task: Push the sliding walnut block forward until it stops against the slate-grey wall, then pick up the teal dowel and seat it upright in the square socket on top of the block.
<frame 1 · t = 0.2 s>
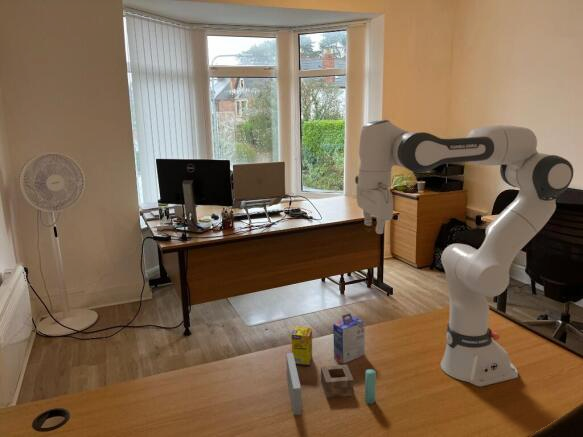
hand: (373, 229, 123), 47 cm above the table, tool pointing down, fingers open, 8 cm apart
block: (336, 380, 127), point 2 cm above the table, slide at 0.0 cm
wall: (293, 394, 126), on the table
ink cartridge box: (349, 356, 145), on the table
supplement box: (302, 361, 143), on the table
dowel: (370, 400, 122), on the table
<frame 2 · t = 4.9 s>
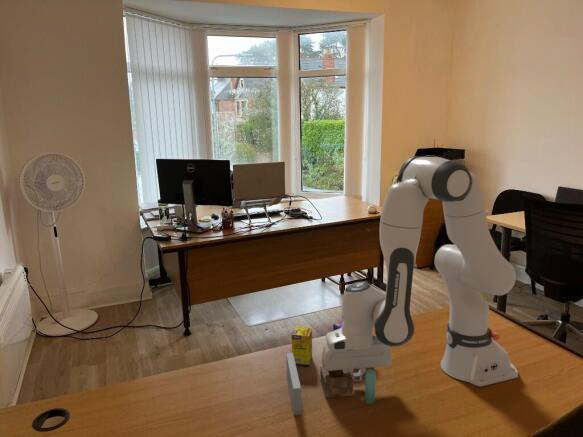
hand: (356, 379, 128), 2 cm above the table, tool pointing down, fingers closed
block: (336, 380, 127), point 2 cm above the table, slide at 0.2 cm, touching gripper
everything else where it was.
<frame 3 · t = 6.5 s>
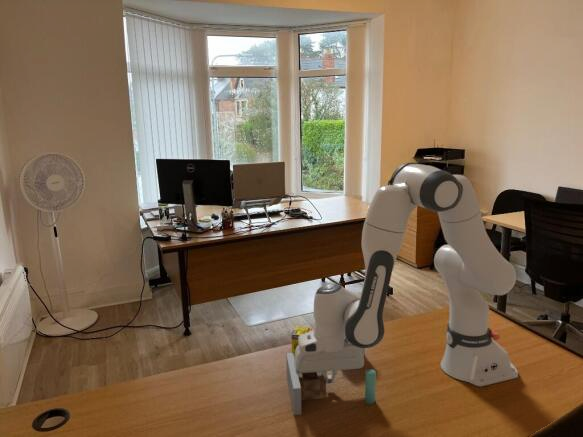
hand: (329, 382, 127), 2 cm above the table, tool pointing down, fingers closed
block: (309, 383, 127), point 2 cm above the table, slide at 8.0 cm, touching gripper, wall
everything else where it was.
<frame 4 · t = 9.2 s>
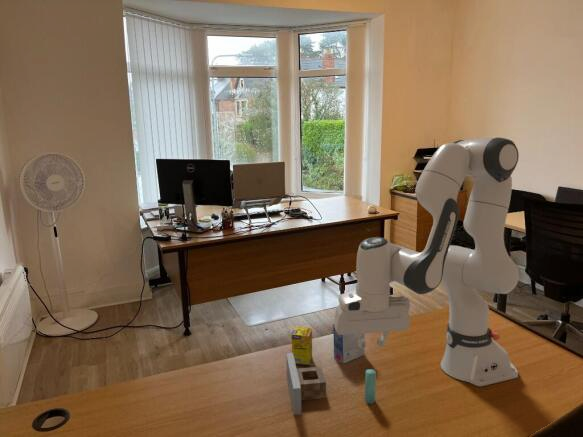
hand: (371, 345, 118), 17 cm above the table, tool pointing down, fingers open, 4 cm apart
block: (309, 383, 127), point 2 cm above the table, slide at 8.0 cm
everything else where it was.
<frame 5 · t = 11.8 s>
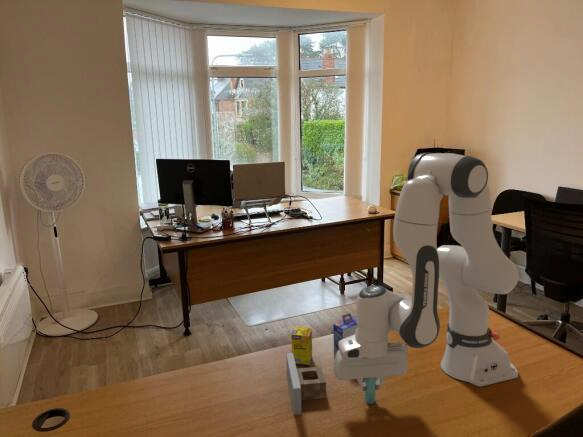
hand: (370, 389, 121), 4 cm above the table, tool pointing down, fingers closed on dowel, 3 cm apart
dowel: (369, 400, 122), on the table, touching gripper
everything else where it was.
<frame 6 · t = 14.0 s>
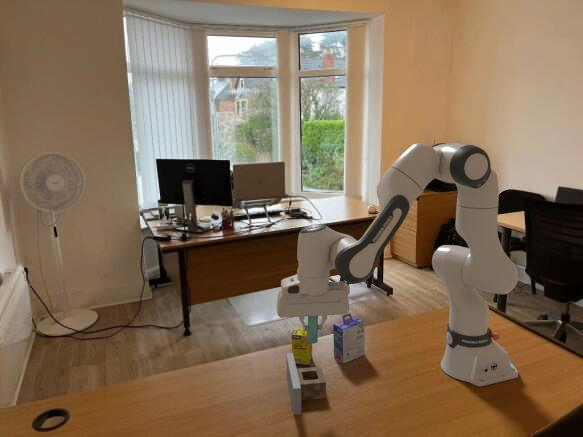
hand: (312, 329, 122), 20 cm above the table, tool pointing down, fingers closed on dowel, 3 cm apart
dowel: (312, 341, 123), point 16 cm above the table, touching gripper
everything else where it was.
when the fingers open (6 cm above the table, at t = 16.3 s): dowel drops 1 cm, resting on block.
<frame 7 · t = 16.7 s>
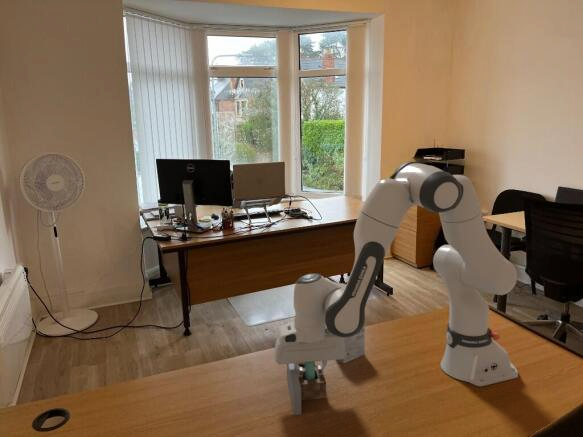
hand: (310, 373, 126), 6 cm above the table, tool pointing down, fingers open, 5 cm apart
block: (310, 383, 127), point 3 cm above the table, slide at 8.0 cm, touching dowel
dowel: (310, 387, 127), point 1 cm above the table, touching block
everything else where it was.
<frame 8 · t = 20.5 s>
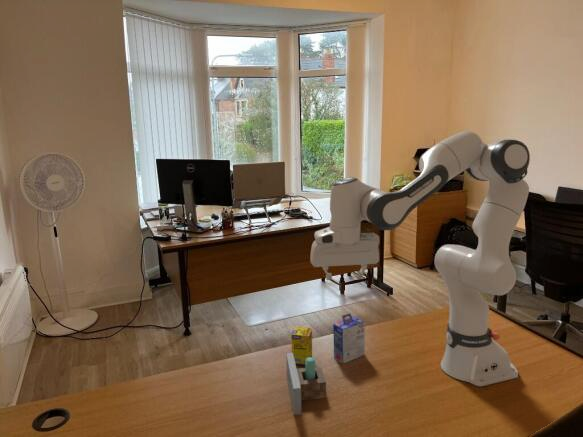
hand: (344, 278, 129), 31 cm above the table, tool pointing down, fingers open, 8 cm apart
nothing on the table moved.
at the end: block slide at 8.0 cm; dowel 0.1 cm off-centre on the block, point 1.0 cm above the block's base; dowel tilted 1° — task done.
